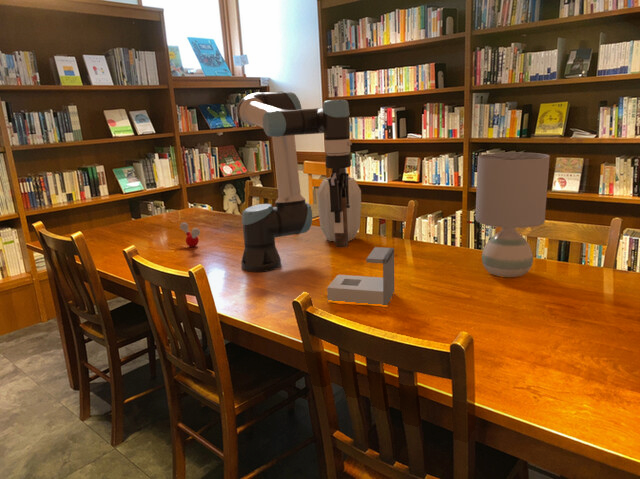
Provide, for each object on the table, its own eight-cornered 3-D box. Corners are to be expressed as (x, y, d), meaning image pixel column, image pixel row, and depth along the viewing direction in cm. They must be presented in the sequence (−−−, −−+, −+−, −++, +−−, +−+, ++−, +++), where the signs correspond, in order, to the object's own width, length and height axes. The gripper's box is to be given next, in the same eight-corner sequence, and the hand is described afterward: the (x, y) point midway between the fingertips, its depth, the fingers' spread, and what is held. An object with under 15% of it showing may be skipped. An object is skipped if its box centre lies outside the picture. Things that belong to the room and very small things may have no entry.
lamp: (491, 260, 186) (497, 151, 175) (550, 272, 171) (560, 153, 160) (461, 275, 172) (465, 158, 161) (523, 290, 156) (532, 161, 146)
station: (327, 302, 154) (325, 256, 150) (338, 288, 165) (336, 245, 161) (387, 307, 148) (387, 259, 144) (394, 293, 159) (394, 248, 155)
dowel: (333, 247, 153) (331, 199, 149) (337, 243, 156) (335, 196, 153) (346, 247, 151) (344, 199, 148) (349, 244, 155) (347, 196, 151)
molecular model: (177, 244, 228) (175, 223, 226) (189, 241, 232) (186, 220, 229) (195, 251, 215) (193, 229, 213) (208, 248, 219) (205, 226, 216)
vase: (312, 237, 229) (309, 178, 222) (350, 231, 237) (348, 174, 229) (329, 247, 212) (327, 183, 205) (369, 241, 219) (368, 179, 212)
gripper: (341, 156, 138) (345, 238, 144) (357, 151, 154) (360, 225, 159) (316, 157, 140) (320, 237, 146) (334, 151, 156) (337, 224, 162)
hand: (341, 230), depth 153 cm, fingers closed on dowel, 4 cm apart
